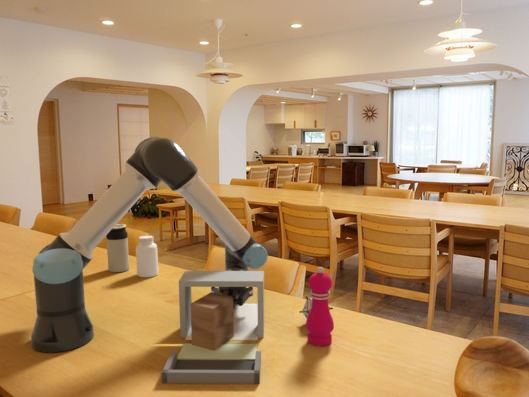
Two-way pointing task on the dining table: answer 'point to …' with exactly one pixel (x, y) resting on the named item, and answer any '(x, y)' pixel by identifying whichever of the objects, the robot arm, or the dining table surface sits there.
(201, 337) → the walnut block
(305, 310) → the game die
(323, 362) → the dining table surface
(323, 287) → the pepper mill
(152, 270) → the pill bottle
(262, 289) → the tunnel
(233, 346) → the pad
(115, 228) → the travel mug
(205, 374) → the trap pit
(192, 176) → the robot arm
